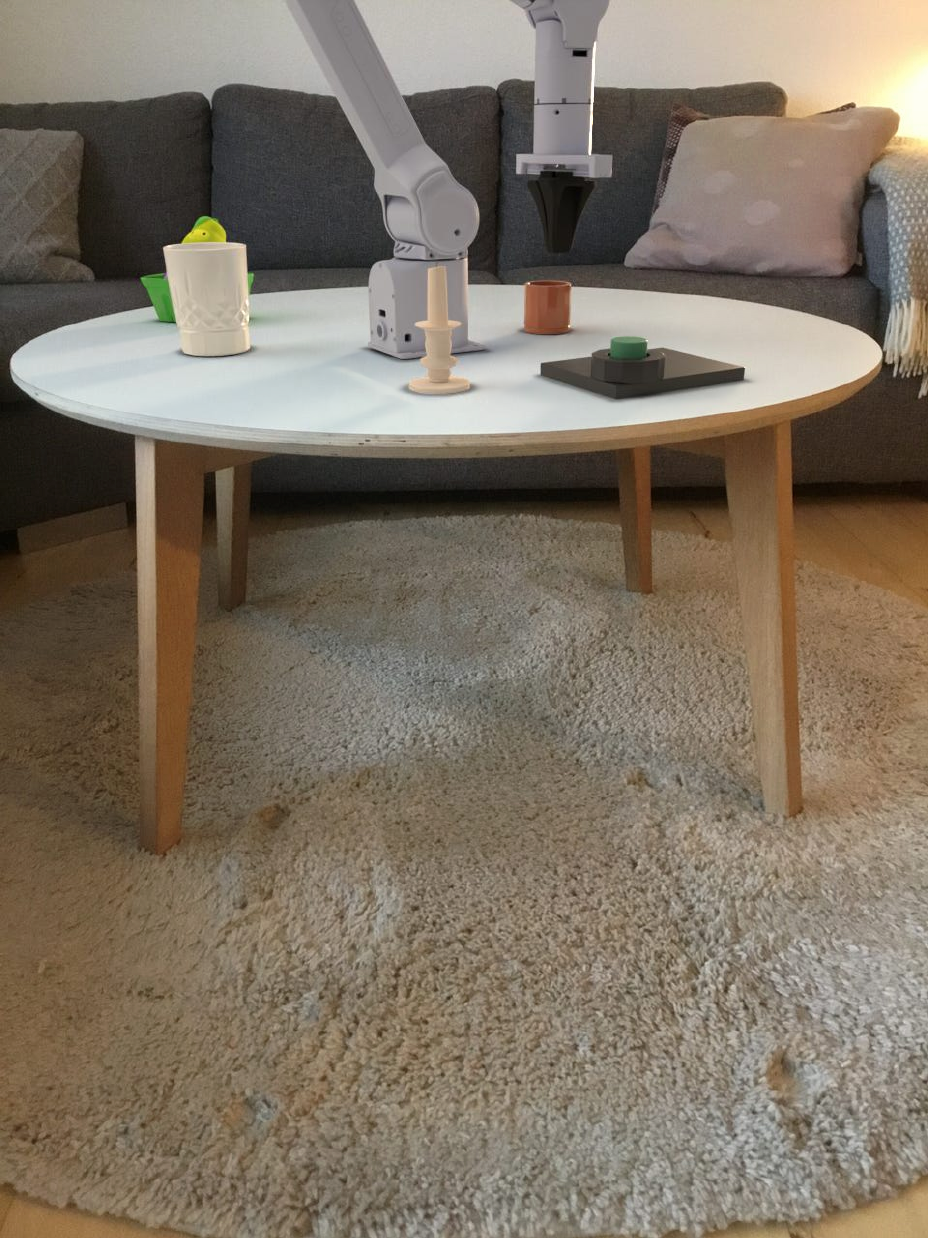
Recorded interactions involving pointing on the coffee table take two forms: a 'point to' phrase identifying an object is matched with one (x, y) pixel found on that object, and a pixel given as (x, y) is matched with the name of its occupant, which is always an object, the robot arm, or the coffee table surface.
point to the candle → (438, 341)
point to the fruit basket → (159, 283)
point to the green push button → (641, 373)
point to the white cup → (210, 296)
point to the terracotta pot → (547, 307)
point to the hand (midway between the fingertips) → (558, 252)
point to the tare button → (628, 347)
